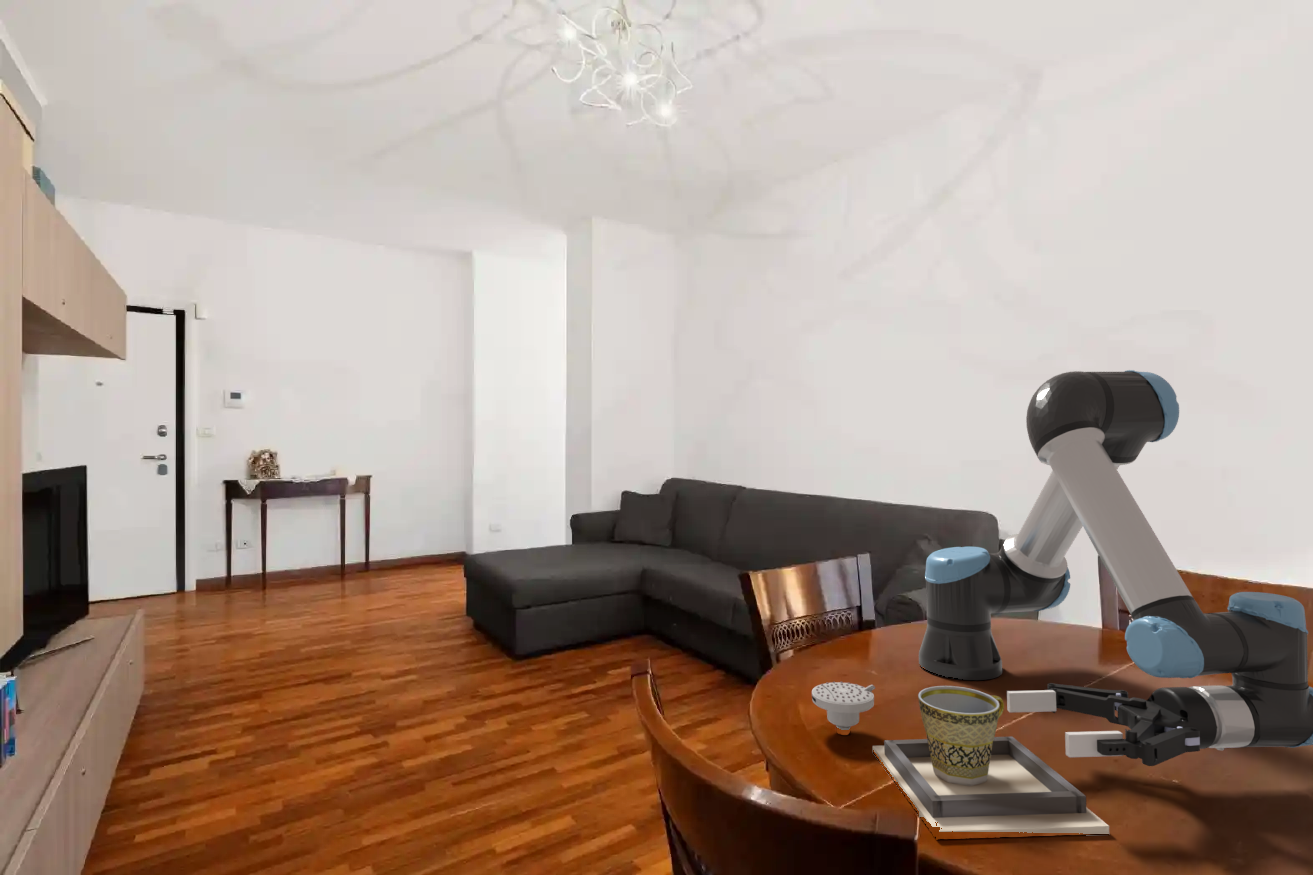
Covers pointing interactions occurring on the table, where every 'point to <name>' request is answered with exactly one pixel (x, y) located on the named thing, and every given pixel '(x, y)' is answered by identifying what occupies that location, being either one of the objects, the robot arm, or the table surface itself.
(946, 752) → the ceramic cup
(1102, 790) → the table surface
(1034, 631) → the table surface
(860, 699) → the showerhead
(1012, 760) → the square frame board
